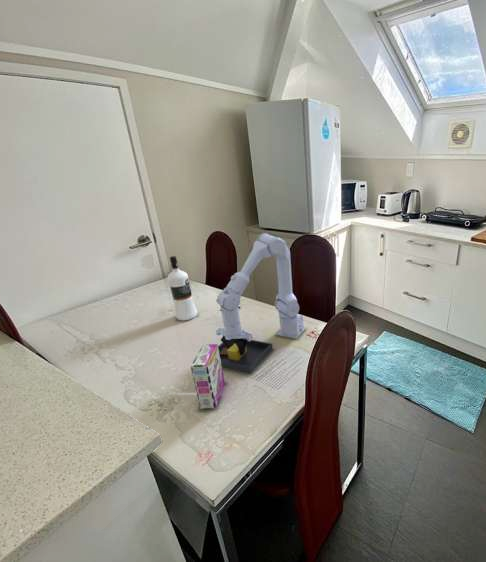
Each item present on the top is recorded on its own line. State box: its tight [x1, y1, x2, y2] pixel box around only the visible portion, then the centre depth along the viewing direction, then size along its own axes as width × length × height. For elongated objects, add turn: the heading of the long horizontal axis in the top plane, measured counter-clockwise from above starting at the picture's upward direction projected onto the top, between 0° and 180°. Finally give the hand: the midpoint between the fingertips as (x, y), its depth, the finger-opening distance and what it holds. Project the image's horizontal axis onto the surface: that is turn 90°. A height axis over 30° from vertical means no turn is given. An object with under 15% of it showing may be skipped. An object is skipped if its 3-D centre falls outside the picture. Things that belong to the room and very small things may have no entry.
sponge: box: [227, 344, 247, 361], centre depth 118 cm, size 4×6×4 cm, turn 162°
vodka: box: [166, 255, 198, 322], centre depth 142 cm, size 9×9×30 cm
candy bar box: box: [190, 343, 226, 410], centre depth 97 cm, size 11×5×16 cm, turn 5°
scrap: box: [220, 348, 228, 357], centre depth 120 cm, size 4×4×1 cm
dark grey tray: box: [218, 339, 273, 375], centre depth 118 cm, size 19×15×3 cm
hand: (237, 352), depth 118 cm, fingers closed on sponge, 4 cm apart
